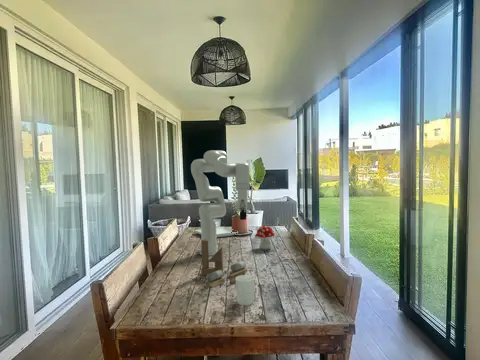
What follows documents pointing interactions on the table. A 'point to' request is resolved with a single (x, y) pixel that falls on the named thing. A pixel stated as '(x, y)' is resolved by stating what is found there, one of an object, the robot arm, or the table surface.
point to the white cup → (245, 289)
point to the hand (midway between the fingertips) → (243, 218)
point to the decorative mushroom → (265, 237)
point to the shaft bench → (216, 276)
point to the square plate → (221, 232)
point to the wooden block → (205, 259)
